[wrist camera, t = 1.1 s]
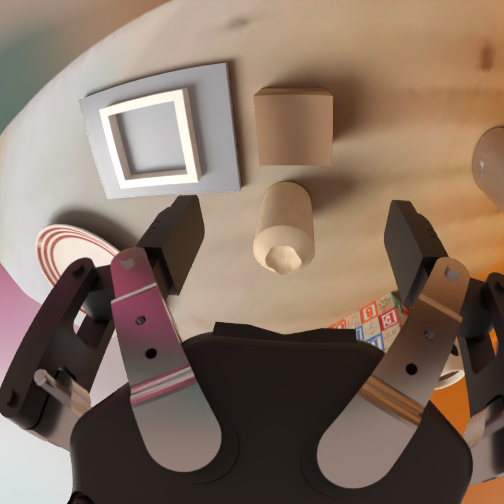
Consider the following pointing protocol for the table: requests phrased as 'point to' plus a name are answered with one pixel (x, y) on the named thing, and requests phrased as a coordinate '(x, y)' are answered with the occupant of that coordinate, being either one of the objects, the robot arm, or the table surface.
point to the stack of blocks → (377, 321)
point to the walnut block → (294, 126)
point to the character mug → (452, 368)
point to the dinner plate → (69, 250)
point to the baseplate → (165, 134)
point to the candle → (285, 229)
